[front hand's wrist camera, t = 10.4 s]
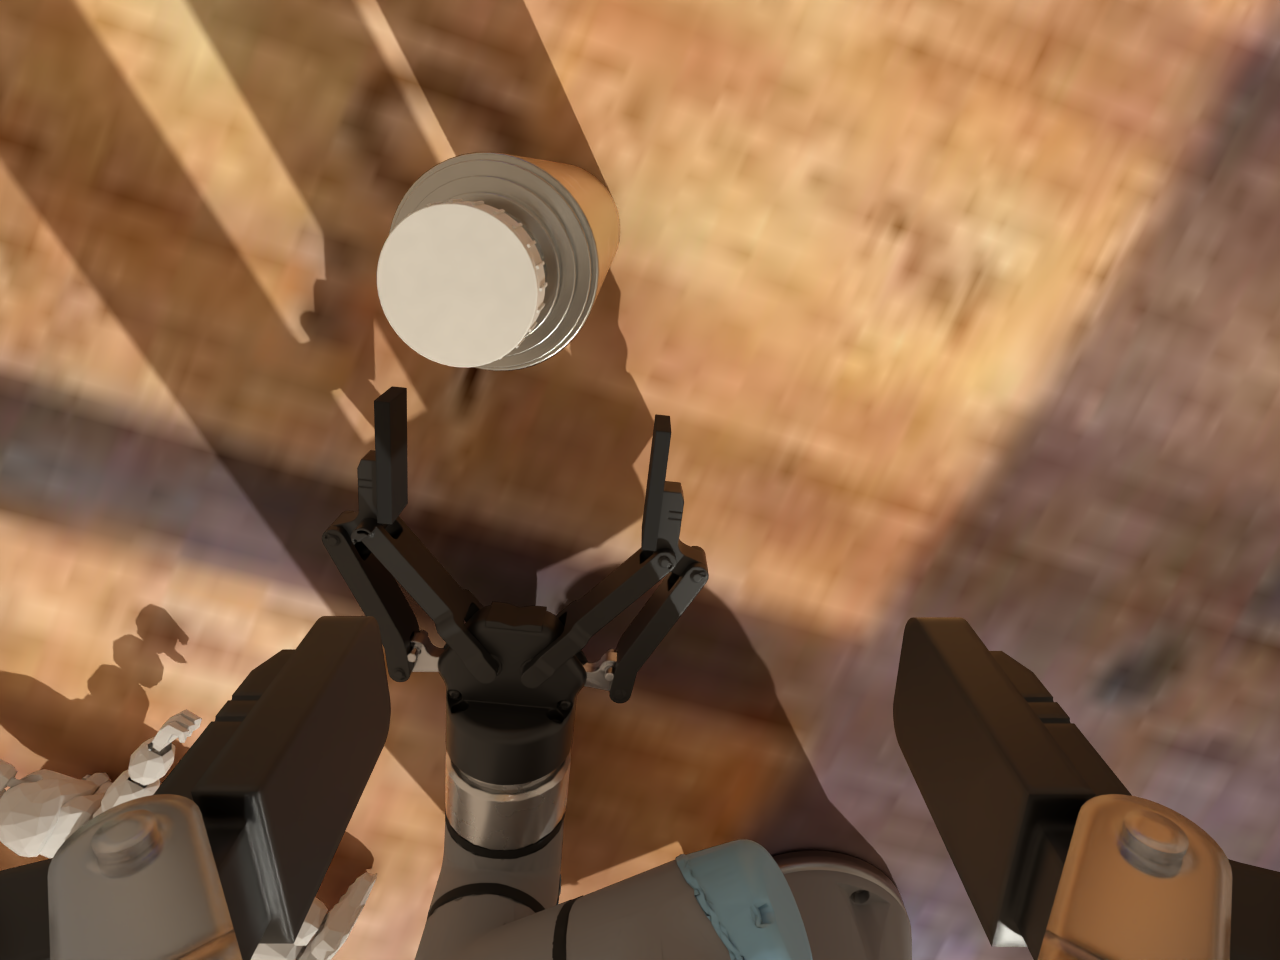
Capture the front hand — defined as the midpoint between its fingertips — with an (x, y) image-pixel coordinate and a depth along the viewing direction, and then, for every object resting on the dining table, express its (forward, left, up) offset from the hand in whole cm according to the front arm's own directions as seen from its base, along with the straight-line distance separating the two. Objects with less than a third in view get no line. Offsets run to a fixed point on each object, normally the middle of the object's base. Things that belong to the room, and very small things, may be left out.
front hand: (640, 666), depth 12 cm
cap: (-4, -5, -10) cm, 12 cm away
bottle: (-4, -5, -33) cm, 33 cm away
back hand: (+5, -5, -27) cm, 27 cm away
